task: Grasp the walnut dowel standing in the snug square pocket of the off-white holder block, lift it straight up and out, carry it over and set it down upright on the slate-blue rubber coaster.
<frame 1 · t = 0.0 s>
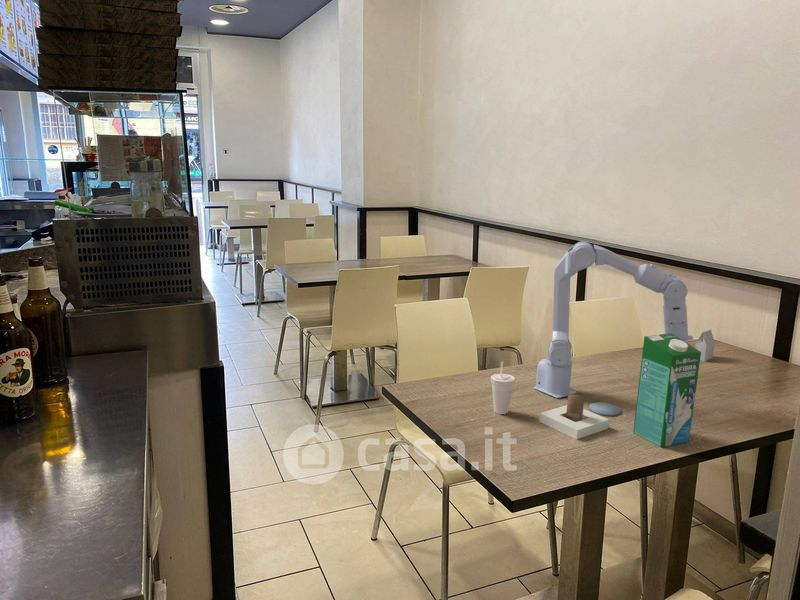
hand: (678, 369, 165), 11 cm above the table, tool pointing down, fingers open, 7 cm apart
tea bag: (702, 359, 209), on the table
smoothie: (500, 412, 160), on the table
coaster: (604, 410, 163), on the table
holder block: (573, 425, 153), on the table
walnut dowel: (574, 411, 152), in the holder block
milk carton: (660, 437, 147), on the table
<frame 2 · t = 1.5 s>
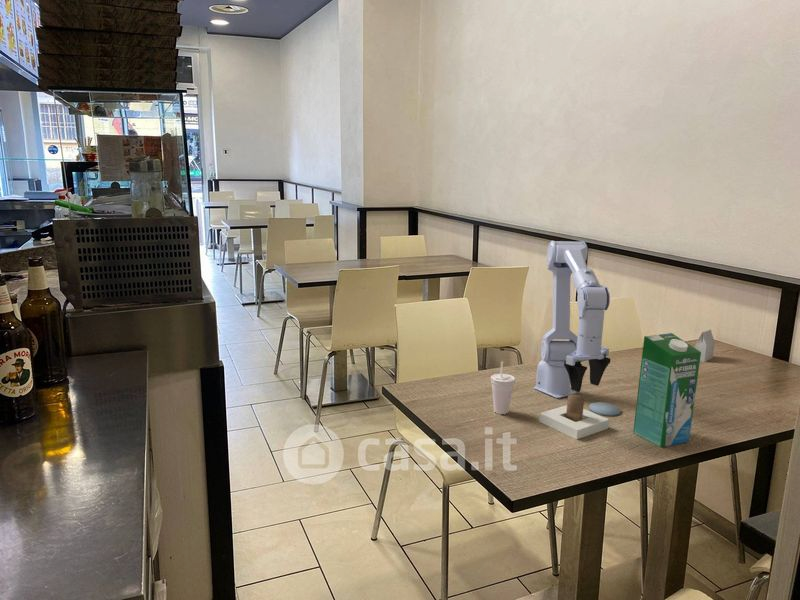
hand: (585, 387, 150), 10 cm above the table, tool pointing down, fingers open, 7 cm apart
nothing on the table moved.
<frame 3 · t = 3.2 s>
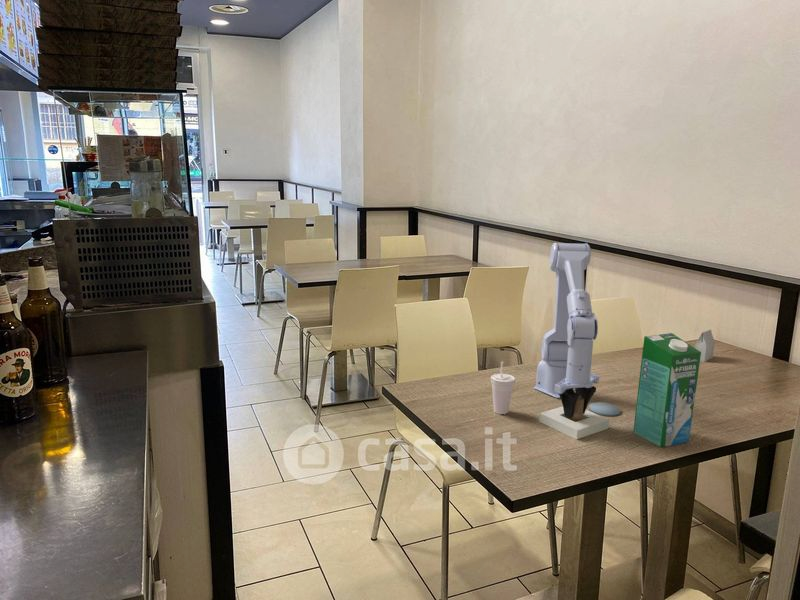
hand: (574, 414, 152), 3 cm above the table, tool pointing down, fingers closed on walnut dowel, 4 cm apart
walnut dowel: (574, 411, 152), in the holder block, touching gripper
everything else where it was.
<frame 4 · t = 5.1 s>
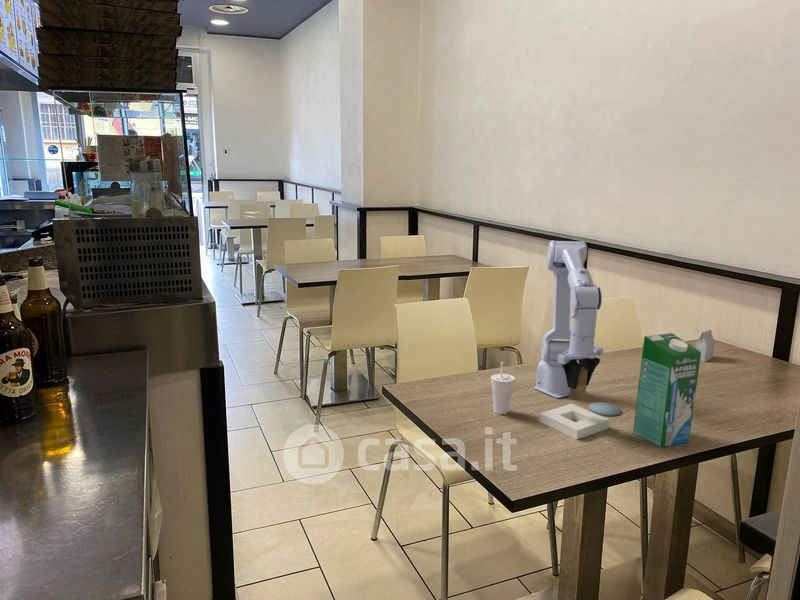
hand: (577, 386, 151), 10 cm above the table, tool pointing down, fingers closed on walnut dowel, 4 cm apart
walnut dowel: (578, 383, 151), point 11 cm above the table, touching gripper
everything else where it was.
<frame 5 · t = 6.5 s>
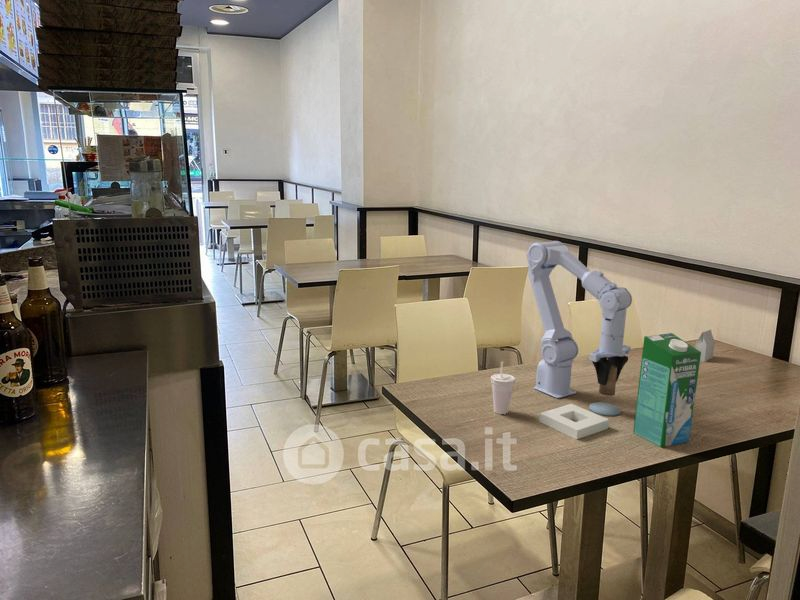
hand: (607, 382, 161), 8 cm above the table, tool pointing down, fingers closed on walnut dowel, 4 cm apart
walnut dowel: (608, 379, 161), point 9 cm above the table, touching gripper
everything else where it was.
when the fingers open (5 cm above the table, at t = 7.4 s): walnut dowel drops 2 cm, resting on coaster.
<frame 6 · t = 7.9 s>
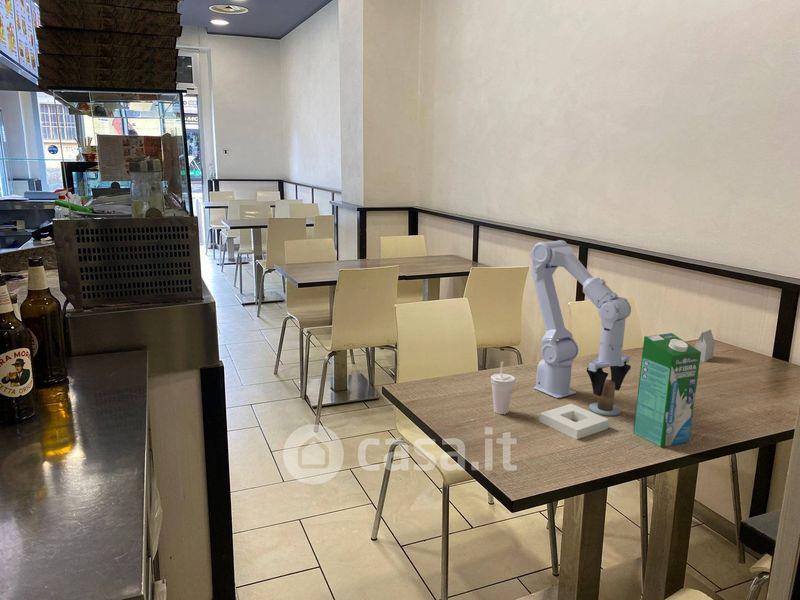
hand: (606, 392, 162), 5 cm above the table, tool pointing down, fingers open, 7 cm apart
walnut dowel: (606, 395, 162), on the coaster, point 4 cm above the table
everything else where it was.
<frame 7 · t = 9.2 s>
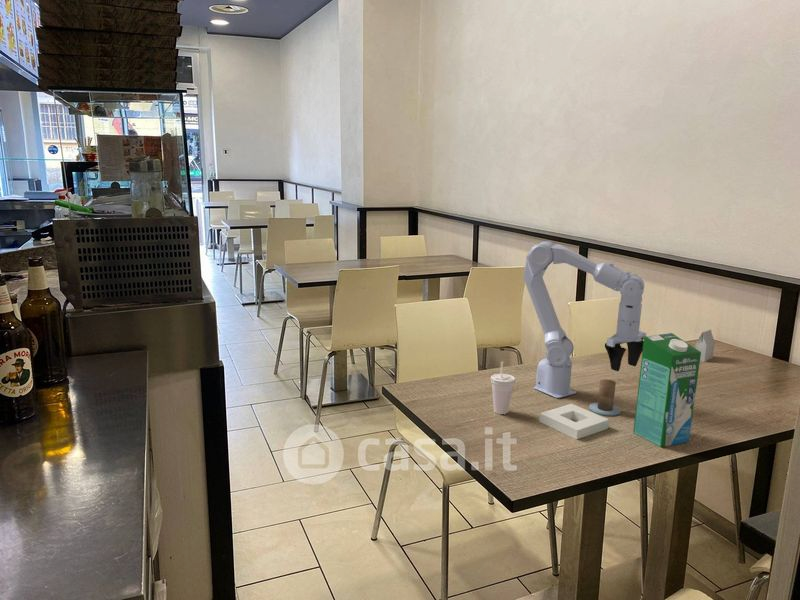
hand: (623, 367, 166), 10 cm above the table, tool pointing down, fingers open, 7 cm apart
nothing on the table moved.
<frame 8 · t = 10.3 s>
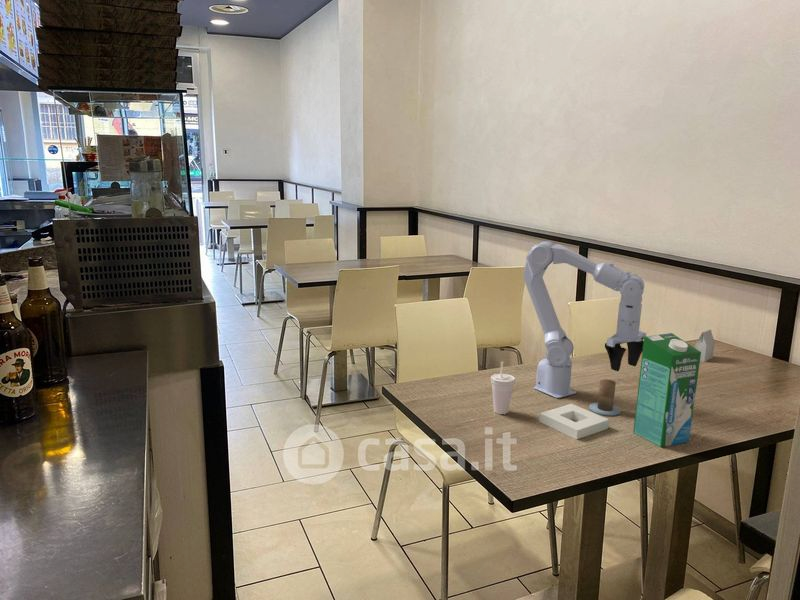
hand: (623, 367, 166), 10 cm above the table, tool pointing down, fingers open, 7 cm apart
nothing on the table moved.
at the end: walnut dowel inside the target area on the coaster (0.1 cm from its centre), point 4.4 cm above the coaster's base; walnut dowel tilted 0°; walnut dowel touching coaster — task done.
